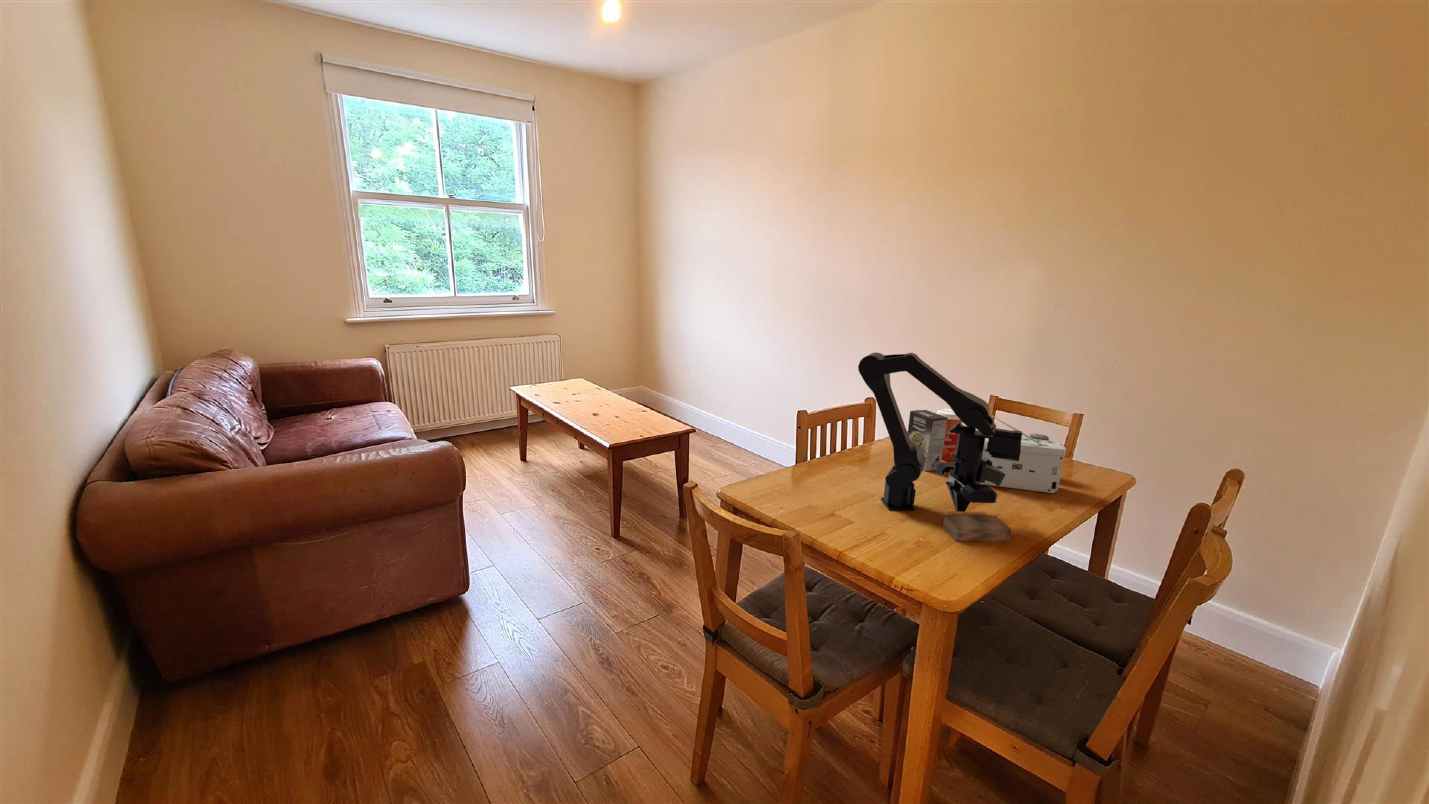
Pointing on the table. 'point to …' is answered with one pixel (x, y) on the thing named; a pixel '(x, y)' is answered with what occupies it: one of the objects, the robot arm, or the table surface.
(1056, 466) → the stereo radio cassette player
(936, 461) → the coffee box
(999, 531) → the taupe rectangular slab
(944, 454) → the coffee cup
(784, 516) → the table surface
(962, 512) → the plate
